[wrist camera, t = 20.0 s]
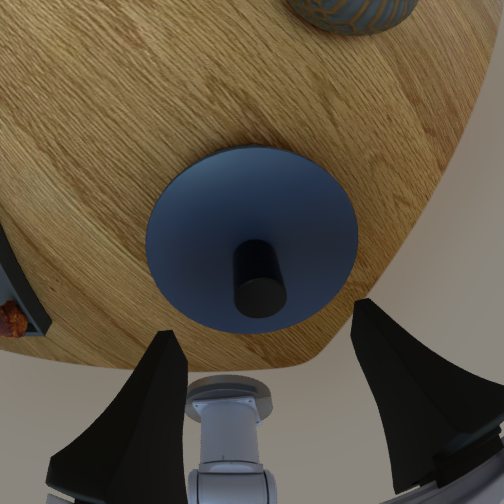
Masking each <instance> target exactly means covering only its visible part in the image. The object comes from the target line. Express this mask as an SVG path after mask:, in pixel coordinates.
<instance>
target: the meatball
mask: <svg viewBox="0 0 504 504" xmlns="http://www.w3.org/2000/svg"><path fill="white" fill-rule="evenodd" d="M18 306H19V305H18V304H16V303H15V301H9V300H7V301H6V303H4V305H2V306H0V334H1V335H2V336H3V337H5V338H12V339H13V338H20V337H24V336H25V334H26V328H27V324H28V320H27V315H26V314H25V313H23V310H22V311H21V306H20V307H19V308H18Z"/></svg>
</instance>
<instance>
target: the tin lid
mask: <svg viewBox="0 0 504 504" xmlns="http://www.w3.org/2000/svg"><path fill="white" fill-rule="evenodd" d="M357 248H358V226H357V220H356V215H355V212H354V209H353V206H352V204H351V202H350V200H349V198H348V196H347V194H346V193H345V191H344V190H343V188H342V187H341V186H340V184H339V183H338V182H337V181H336V180H335V179H334V178H333V177H332V176H331V175H330V174H329V173H328V172H327V171H326V170H325V169H323V168H322V167H321V166H319V165H318V164H316V163H315V162H314V161H312V160H310V159H308V158H306V157H304V156H302V155H300V154H297V153H295V152H292V151H289V150H286V149H281V148H276V147H271V146H254V145H252V146H241V147H234V148H230V149H225V150H221V151H218V152H216V153H213V154H211V155H208V156H205V157H203V158H202V159H200V160H198V161H196V162H195V163H193V164H191V165H190V166H188V167H187V168H186V169H185V170H183V171H182V172H181V173H179V174H178V175H177V176H176V177H175V178H174V179H173V180H172V181H171V183H170V184H169V185H168V186H167V187H166V189H165V190H164V191H163V193H162V194H161V196H160V197H159V199H158V200H157V202H156V204H155V206H154V209H153V211H152V213H151V216H150V219H149V222H148V226H147V232H146V256H147V262H148V266H149V269H150V272H151V275H152V277H153V279H154V281H155V283H156V285H157V287H158V288H159V290H160V291H161V293H162V294H163V296H164V297H165V298H166V299H167V300H168V301H169V302H170V304H172V305H173V306H174V307H175V308H176V309H177V310H178V311H180V312H181V313H182V314H184V315H185V316H187V317H188V318H190V319H192V320H194V321H195V322H197V323H199V324H202V325H204V326H207V327H209V328H212V329H216V330H219V331H224V332H229V333H238V334H258V333H267V332H272V331H276V330H280V329H284V328H287V327H290V326H292V325H295V324H297V323H299V322H301V321H303V320H305V319H307V318H309V317H311V316H312V315H314V314H315V313H316V312H318V311H319V310H321V309H322V308H323V307H324V306H325V305H327V304H328V303H329V302H330V301H331V300H332V299H333V298H334V297H335V296H336V294H337V293H338V292H339V291H340V289H341V288H342V287H343V285H344V284H345V282H346V280H347V278H348V277H349V275H350V272H351V270H352V268H353V265H354V262H355V258H356V254H357Z"/></svg>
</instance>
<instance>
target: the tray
mask: <svg viewBox="0 0 504 504" xmlns="http://www.w3.org/2000/svg"><path fill="white" fill-rule="evenodd" d="M7 300H9V301H15V303H16V304H18V305H19V306H18V308H19V307H20V306H21V311H22V310H23V313H25V314H26V315H27V320H28V324H27V328H26V334H25V336H45V335H46V333H47V331H48V329H49V327H50V325H51V324H52V321H51V320H50V318H49V317H48V315H47V313H46V312H45V310H44V309H43V307H42V305H41V304H40V302H39V301H38V299H37V297H36V296H35V294H34V292H33V290H32V289H31V287H30V285H29V283H28V281H27V280H26V278H25V276H24V274H23V272H22V270H21V268H20V266H19V264H18V262H17V260H16V258H15V256H14V254H13V252H12V250H11V248H10V246H9V244H8V241H7V239H6V237H5V234H4V232H3V230H2V227H1V225H0V306H2V305H4V303H6V301H7ZM0 336H2V335H1V334H0Z"/></svg>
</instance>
